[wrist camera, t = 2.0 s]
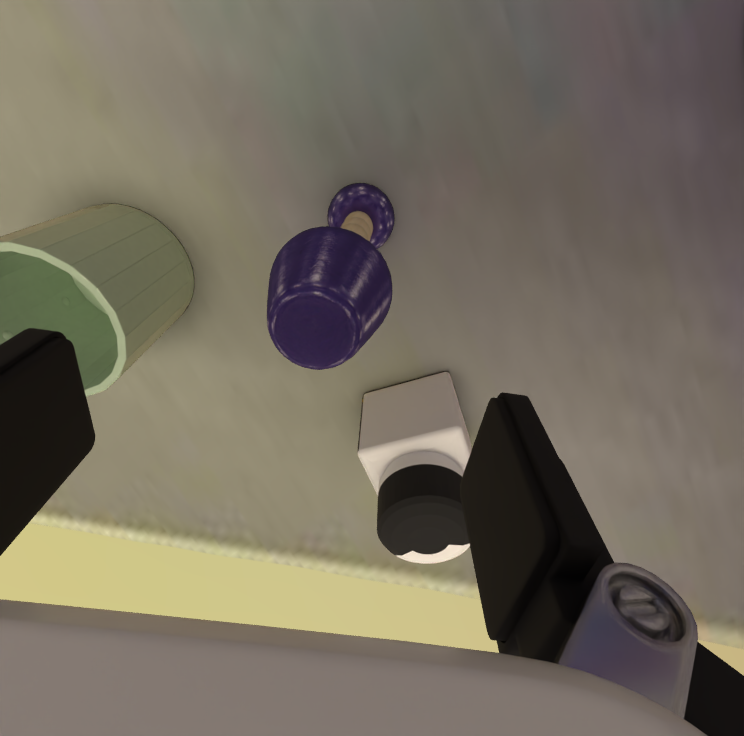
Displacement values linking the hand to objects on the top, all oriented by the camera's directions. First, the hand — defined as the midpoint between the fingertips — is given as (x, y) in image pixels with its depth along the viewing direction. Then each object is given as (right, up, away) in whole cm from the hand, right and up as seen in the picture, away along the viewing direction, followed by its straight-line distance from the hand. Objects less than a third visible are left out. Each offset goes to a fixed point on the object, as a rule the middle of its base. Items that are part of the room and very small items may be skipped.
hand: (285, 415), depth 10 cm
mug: (-16, +7, +20) cm, 27 cm away
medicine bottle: (+6, -3, +26) cm, 26 cm away
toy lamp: (+1, +11, +18) cm, 21 cm away
